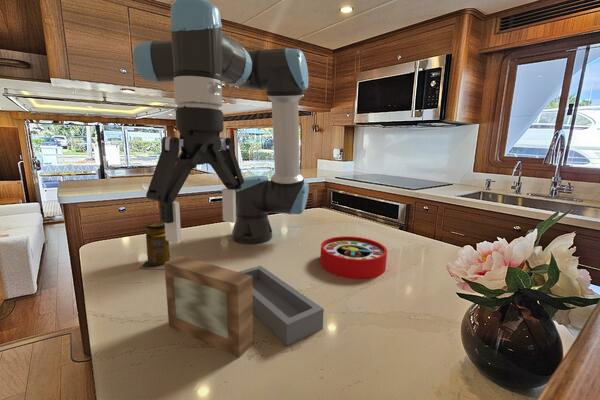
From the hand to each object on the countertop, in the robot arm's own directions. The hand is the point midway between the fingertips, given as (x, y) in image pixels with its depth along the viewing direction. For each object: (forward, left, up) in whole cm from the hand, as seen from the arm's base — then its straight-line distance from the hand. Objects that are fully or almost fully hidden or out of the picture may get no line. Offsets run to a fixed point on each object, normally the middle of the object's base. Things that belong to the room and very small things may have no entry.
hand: (204, 230), depth 55 cm
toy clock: (-7, +49, -22) cm, 54 cm away
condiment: (-41, 0, -22) cm, 46 cm away
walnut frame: (0, 0, -22) cm, 22 cm away
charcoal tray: (-1, +15, -22) cm, 26 cm away
